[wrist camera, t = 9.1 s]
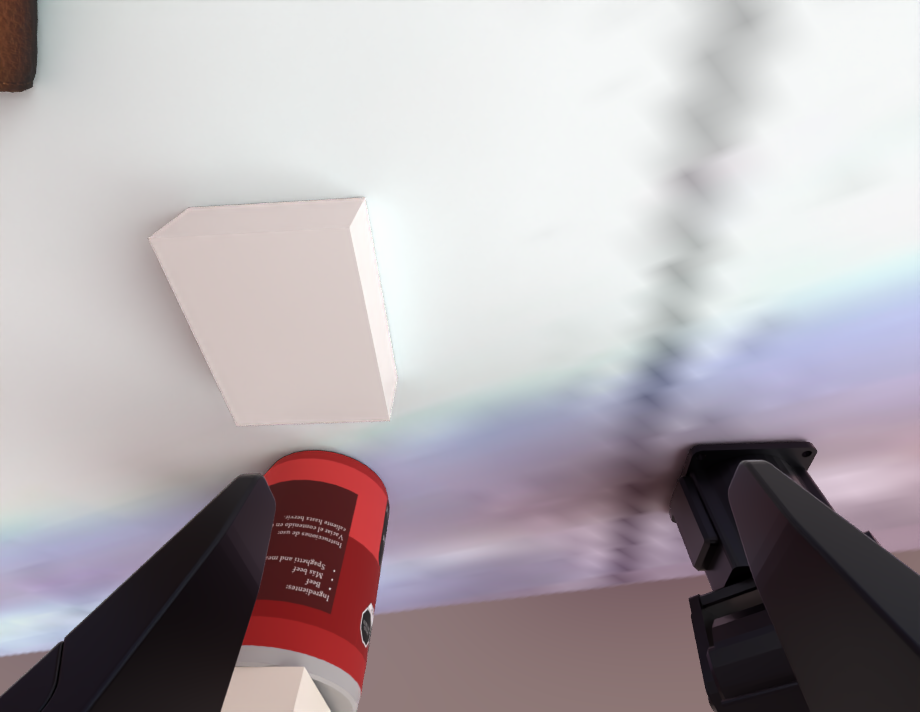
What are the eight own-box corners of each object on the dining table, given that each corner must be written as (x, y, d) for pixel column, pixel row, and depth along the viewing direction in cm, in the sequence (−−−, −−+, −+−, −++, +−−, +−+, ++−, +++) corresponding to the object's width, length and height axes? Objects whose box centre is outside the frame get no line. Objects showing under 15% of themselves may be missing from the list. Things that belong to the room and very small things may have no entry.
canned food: (330, 542, 33) (278, 743, 24) (235, 479, 29) (131, 691, 20) (418, 502, 30) (396, 714, 21) (326, 426, 26) (252, 645, 17)
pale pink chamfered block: (365, 197, 19) (349, 227, 16) (397, 378, 24) (389, 421, 22) (188, 207, 19) (148, 238, 17) (259, 383, 24) (236, 425, 22)
